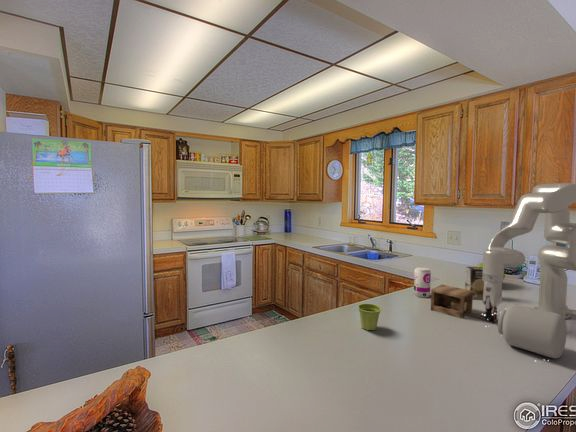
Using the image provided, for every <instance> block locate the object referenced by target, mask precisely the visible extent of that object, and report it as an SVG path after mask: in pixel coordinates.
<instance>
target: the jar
mask: <svg viewBox="0 0 576 432" xmlns="http://www.w3.org/2000/svg"><path fill="white" fill-rule="evenodd" d="M534 308H535V307H529V306H524V305H520V304H511V305H509V307H507V308H506V309H501V311H500V312H499V315H498V320H497V331H498V333H499V334H500V335H502V337H503V338H504V341H505V342H506V344H508V345H510V346H512V347H515V348H518V349H520V350H521V349H522V350H524V351H528V352H531V353H535V354H537V355H541V356H543V357H547V358H550V359H555V360H556V359H559V358H560V357H561V356H562V355H563V353H564V351H565V347H566V344H567V343H566V341H567V335H568V333H567V332H568V331H567V329H568V328H567V321H566V319H564V318H563V316H561V315H560V314H557V313H552V312H548V311H543V310H539V309H534ZM494 314H495V313H494ZM481 315H482V316H486V315H485V314H484V313H481ZM492 315H493V314H492ZM487 320H488V319H487ZM488 327H490V325H488ZM485 328H487V325H485ZM550 359H548V360H547V362H549V360H550ZM543 361H546V360H545V359H543ZM534 362H537V360H534Z"/></svg>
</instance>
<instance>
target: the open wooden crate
mask: <svg viewBox="0 0 576 432" xmlns="http://www.w3.org/2000/svg"><path fill="white" fill-rule="evenodd" d="M430 298H431V299H430V311H434V312H437V313H441V314H445V315H448V316H451V317H456V318H459V319H464V318H465V314H464V302H467V309H466V312H470V313H473V300H474V299H473V291H471V290H466V289H465V288H460V287H455V286H450V285H446V284H440V285H438V286H436V287H434V288H430ZM454 300H459V301H460V311H456V310H453V309H451V302H452V301H454ZM444 306H445V307H444Z"/></svg>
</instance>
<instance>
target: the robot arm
mask: <svg viewBox="0 0 576 432" xmlns="http://www.w3.org/2000/svg"><path fill="white" fill-rule="evenodd" d="M575 203H576V184H575V183H573V182H562V183H560V182H559V183H542V184H537V185H535V186H534V187H533V188H532V191H531V193H526V194H523V195H521V196H520V197H519V199H518V201H517V204H516V206H515V208H514V211H513V213H512V215H511V218H510V221H509V223H508V224H507V225H506V226H504V227H503V228H501V229H500V230H499V231H498V232H496V234H494V236H493V237H492V238H491V241H490V242H489V245H488V247H487V249H484V250H483V253H482V255H483V257H482V263H483V274H482V281H484V290H483V300H482V304H483V305H484V309H485V310H484V311H485V312H484V313H485V314H484V315H486V316H485V318H484V320H485V321H486V322H488V321H490V322H489V323H492V322H494V313H493V311H494V307H495V308H496V314H495V321H496V320H497V319H498V306H499V305H501V304H502V303H503V285H502V284H504V279H503V275H504V274H505V271H504V270H505V267H508V268H518V267H521V266H522V265H523V264H524V263H525V261H526V256H525V255H524V253H523V252H521V251H520V250H517V249H512V248H509V247H505V246H506V245H507V243H508V242H509V241H511V240H512V239H513V238H517V237H518V236H522V235H526V234H528V233H531V232H532V231H533V230H534V229H533V228H534V226H535V224H536V222H537V220H538V217H539V215H540V214H544V226H543V227H544V228H543V236H544V239H545V240H546V241H547V242H550V243H554V244H563V245H568V247H566V246H562V245H561V246H560V245H553V244H550V245H545V246H542V247H541V248H539V250H538V254H537V257H538V262H539V268H540V269H539V271H540V272H539V289H538V290H539V291H538V292H539V293H538V306H536V307H533V308H534V309H539V310H543V311H548V312H552V313H557V314H560V315H561V316H563V318H564V319H565V320H567V319H570V318H571V315H573V316H576V309H571V308H569V307H568V305H567V293H568V275H567V273H566V271H565V270H569V271H573V272H576V223H575V222H571V219H570V218H571V216H570V215H571V211H570V208H569V206H571V205H573V204H575ZM491 307H492V309H491ZM492 314H493V315H492ZM487 319H488V320H487ZM494 323H495V322H494Z"/></svg>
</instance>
